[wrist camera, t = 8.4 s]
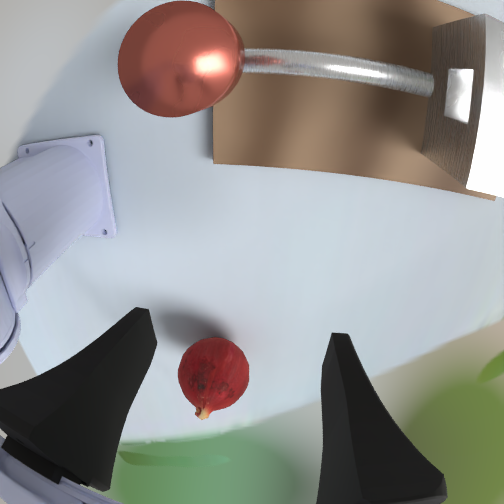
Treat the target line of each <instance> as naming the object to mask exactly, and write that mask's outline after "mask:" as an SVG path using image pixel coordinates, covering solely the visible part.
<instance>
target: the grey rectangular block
mask: <svg viewBox="0 0 504 504" xmlns="http://www.w3.org/2000/svg"><path fill="white" fill-rule="evenodd" d="M431 74H432V75H433V78H434V89H433V93H432V95H431V96H430V97H429V98H428V106H427V114H426V122H425V129H424V136H423V142H422V148H421V154H422V155H423V156H425V157H426V158H428V159H429V160H430V161H432V162H433V163H435V164H436V165H437V166H439V167H440V168H441V169H443V170H444V171H445V172H446V173H448V174H449V175H450V176H452V177H453V178H454V179H455V180H457V181H458V182H459V183H460V184H462V185H463V186H464V187H465V188H467V189H472V190H476V191H480V192H484V193H488V194H492V195H496V196H500V197H504V23H503V22H501V21H499V20H498V19H496V18H494V17H492V16H489V15H487V14H481V15H476V16H472V17H468V18H464V19H460V20H457V21H453V22H449V23H446V24H442V25H439V26H435V27H433V32H432V60H431Z"/></svg>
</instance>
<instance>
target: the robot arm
mask: <svg viewBox="0 0 504 504" xmlns="http://www.w3.org/2000/svg"><path fill="white" fill-rule="evenodd" d="M90 140H92V142H93V145H91V143H90ZM17 153H18V159H17V160H15V161H13V162H11V163H9V164H7V165H5V166H3V167H1V168H0V364H1V363H2V362H3V361H4V360H5V359H6V358H7V357H8V356H9V355H10V353H11V352H12V351H13V349H14V347H15V346H16V344H17V341H18V339H19V335H20V331H21V323H20V317H19V314H18V312H19V311H20V310H21V308H22V307H23V306H24V305H25V304H26V303H27V302H28V300H27V296H26V291H27V289H28V288H29V287H30V286H31V285H32V284H33V283H34V282H35V281H36V280H37V279H38V278H39V276H40V275H41V274H42V273H43V272H44V271H45V270H46V269H47V268H48V267H49V266H50V265H51V264H52V263H53V262H54V261H55V260H56V259H58V258H59V257H60V256H61V255H62V254H63V253H64V252H65V251H66V250H67V249H68V248H69V247H70V246H71V245H72V244H73V243H74V242H75V241H77V240H78V239H79V238H80V237H81V236H82V235H84V236H94V237H105V238H113V237H115V236H116V234H117V228H116V223H115V217H114V212H113V206H112V200H111V193H110V187H109V180H108V172H107V164H106V156H105V147H104V140H103V137H102V136H100V135H90V136H81V137H72V138H65V139H57V140H50V141H44V142H38V143H32V144H26V145H21V146H19V147H18V149H17ZM104 229H105V230H106V231H107V232H105V230H104ZM156 346H157V340H156V337H155V333H154V329H153V325H152V321H151V317H150V313H149V309H144V308H138V307H135V308H134V309H133V310H131V311H130V312H129V313H128V314H126V315H125V316H124V317H123V318H122V319H120V320H119V321H118V322H117V323H116V324H115V325H113V326H112V327H111V328H110V329H108V330H107V331H106V332H105V333H104V334H102V335H101V336H100V337H99V338H97V339H96V340H95V341H93V342H92V343H91V344H89V345H88V346H87V347H85V348H84V349H83V350H81V351H80V352H79V353H77V354H76V355H74V356H73V357H71V358H70V359H68V360H66V361H65V362H63V363H61V364H60V365H58V366H56V367H54V368H52V369H50V370H48V371H46V372H45V373H43V374H41V375H38V376H36V377H34V378H32V379H29V380H27V381H24V382H22V383H19V384H16V385H13V386H10V387H6V388H3V389H0V428H1V429H2V430H3V431H4V432H5V433H6V434H7V437H6V439H4V438H3V437H2V436H0V497H1V498H2V499H3V500H4V501H5V502H6V503H7V504H122V503H120V502H117V501H114V500H112V499H110V498H107V497H105V496H103V495H100V494H98V493H96V492H93V491H91V490H89V489H87V488H84V487H83V486H81V485H80V484H83V485H85V486H87V487H88V486H91V487H93V488H95V489H97V490H100V491H102V492H103V491H107V490H109V489H110V484H111V478H112V472H113V466H114V462H115V457H116V453H117V448H118V444H119V441H120V437H121V433H122V430H123V427H124V424H125V421H126V417H127V414H128V412H129V409H130V407H131V405H132V403H133V400H134V398H135V396H136V394H137V392H138V390H139V388H140V386H141V384H142V382H143V379H144V377H145V375H146V373H147V371H148V369H149V367H150V365H151V362H152V359H153V356H154V353H155V349H156ZM321 402H322V421H323V452H322V463H321V474H320V482H319V490H318V497H317V503H316V504H441V503H442V502H444V501H445V500H446V498H447V487H446V482H445V478H444V474H442V473H441V472H440V471H439V470H438V469H437V468H436V467H435V466H433V465H432V464H431V463H430V462H429V461H428V460H427V459H426V458H425V457H424V456H423V455H422V454H421V453H420V452H419V451H418V450H417V449H416V448H415V446H414V445H413V444H412V443H411V442H410V440H409V439H408V438H407V437H406V436H405V435H404V433H403V432H402V431H401V429H400V428H399V427H398V425H397V424H396V423H395V421H394V420H393V419H392V417H391V416H390V414H389V413H388V411H387V410H386V408H385V407H384V405H383V403H382V402H381V400H380V399H379V397H378V395H377V393H376V391H375V390H374V388H373V386H372V384H371V382H370V380H369V378H368V376H367V374H366V372H365V371H364V368H363V366H362V364H361V362H360V360H359V358H358V356H357V353H356V351H355V349H354V346H353V344H352V341H351V339H350V336H349V335H348V334H345V333H332V334H331V338H330V341H329V345H328V348H327V351H326V355H325V358H324V362H323V365H322V377H321Z"/></svg>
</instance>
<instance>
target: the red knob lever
mask: <svg viewBox="0 0 504 504" xmlns="http://www.w3.org/2000/svg"><path fill="white" fill-rule="evenodd" d="M242 73H253V74H279V75H294V76H307V77H317V78H326V79H334V80H342V81H349V82H355V83H362V84H368V85H373V86H379V87H384V88H389V89H394V90H398V91H403V92H407V93H412V94H416V95H420V96H424V97H428V98H429V97H430V96H431V95H432V93H433V89H434V78H433V75H432V74H431V73H427V72H424V71H420V70H416V69H412V68H408V67H404V66H400V65H396V64H391V63H386V62H382V61H376V60H371V59H366V58H360V57H354V56H347V55H340V54H333V53H324V52H315V51H304V50H291V49H271V48H244V44H243V41H242V38H241V36H240V34H239V33H238V31H237V30H236V28H235V27H234V26H233V25H232V24H231V23H230V22H229V21H228V20H227V19H225V18H224V17H223V16H221V15H220V14H219V13H217V12H216V11H215V10H213V9H212V8H210V7H208V6H206V5H204V4H201V3H198V2H192V1H173V2H168V3H165V4H162V5H159V6H157V7H155V8H153V9H151V10H149V11H148V12H146V13H145V14H143V15H142V16H141V17H140V18H138V19H137V21H136V22H135V23H134V24H133V25H132V26H131V27H130V29H129V30H128V32H127V33H126V35H125V37H124V39H123V41H122V44H121V47H120V50H119V55H118V74H119V79H120V82H121V85H122V87H123V89H124V91H125V93H126V94H127V96H128V97H129V98H130V99H131V100H132V102H133V103H134V104H136V105H137V106H138V107H139V108H141V109H143V110H144V111H146V112H148V113H150V114H153V115H157V116H162V117H181V116H185V115H189V114H192V113H195V112H198V111H200V110H203V109H206V108H209V107H211V106H213V105H215V104H217V103H219V102H220V101H222V100H223V99H224V98H225V97H227V96H228V95H229V94H230V93H231V92H232V90H233V89H234V88H235V86H236V85H237V83H238V82H239V80H240V78H241V75H242Z"/></svg>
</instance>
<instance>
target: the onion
mask: <svg viewBox="0 0 504 504" xmlns="http://www.w3.org/2000/svg"><path fill="white" fill-rule="evenodd" d="M178 380H179V384H180V386H181V389H182V391H183V394H184V395H185V397H186V398H187V399H188V400H189V402H191V403H192V404H193V405H194V406H195V407H196V412H195V415H196V416H197V417H198V418H199V419H201V420H203V419H205V418H208V417H209V414H210V413H211V412H212V411H215V410H220V409H223V408H226V407H229V406H231V405H232V404H234V403H235V402H236V401H237V400H238V399H239V398H240V397H241V396H242V395H243V393H244V392H245V390H246V388H247V386H248V382H249V364H248V362H247V359H246V357H245V355H244V353H243V351H242V350H241V349H240V348H239V347H237V346H236V345H235V344H234V343H233V342H231V341H229V340H226V339H224V338H217V337H212V338H207V339H202V340H199V341H198V342H196V343H194V344H193V345H192V346H191V347H189V348H188V349H187V350H186V352H185V353H184V354H183V356H182V359H181V362H180V365H179V368H178Z"/></svg>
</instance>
